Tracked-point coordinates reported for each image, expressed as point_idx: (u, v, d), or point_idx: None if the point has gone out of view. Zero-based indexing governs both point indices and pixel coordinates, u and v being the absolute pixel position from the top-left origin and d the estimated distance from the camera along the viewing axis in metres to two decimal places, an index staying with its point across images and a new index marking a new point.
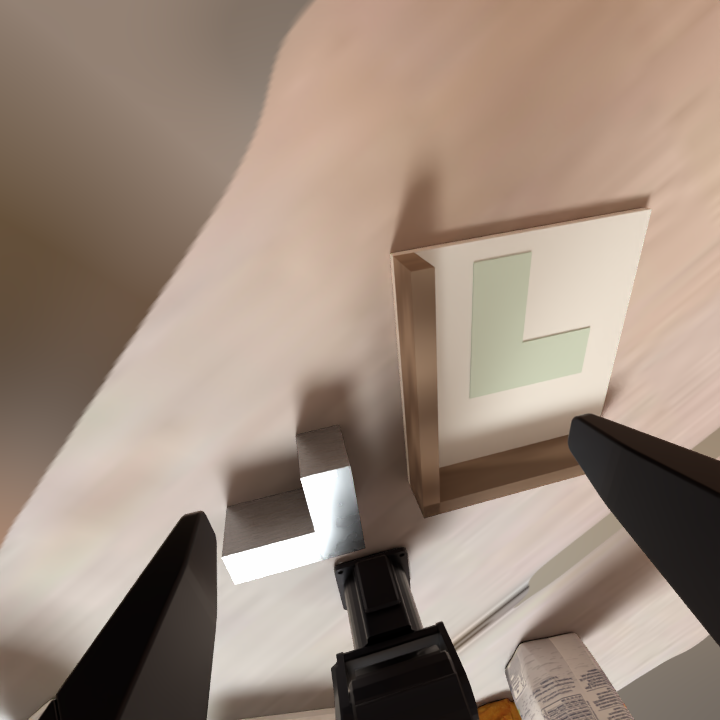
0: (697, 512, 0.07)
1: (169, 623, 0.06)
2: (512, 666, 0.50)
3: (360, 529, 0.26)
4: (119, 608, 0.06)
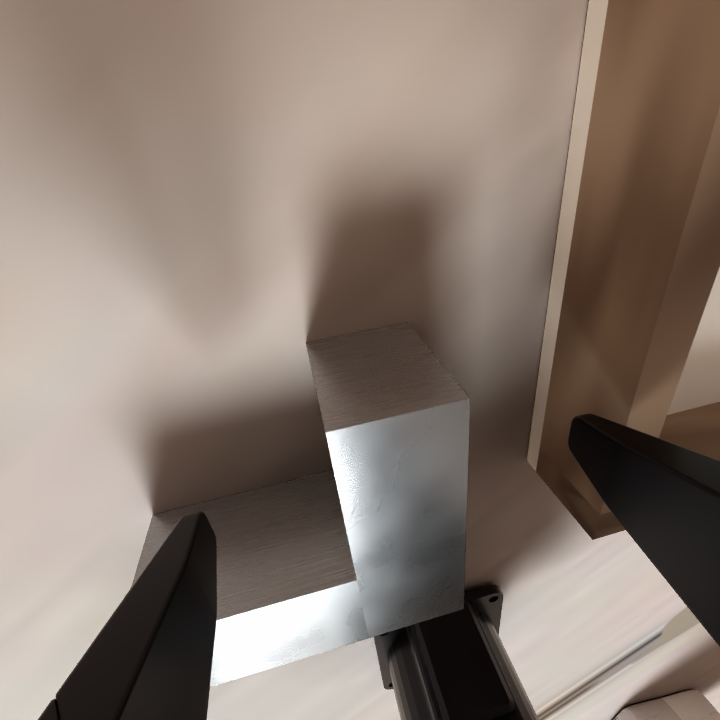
0: (697, 512, 0.07)
1: (169, 623, 0.06)
2: None
3: (461, 569, 0.11)
4: (119, 608, 0.06)
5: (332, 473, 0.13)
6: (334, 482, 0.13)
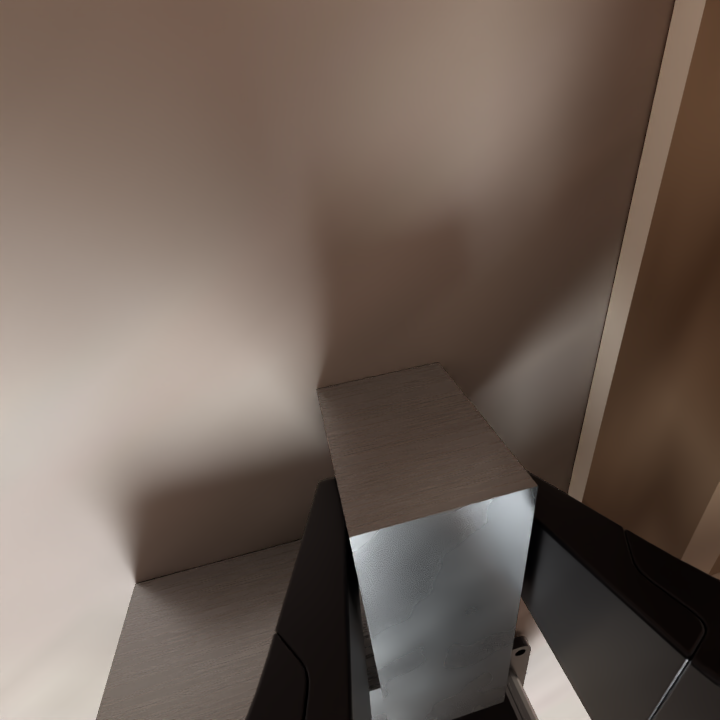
0: (547, 557, 0.07)
1: (349, 572, 0.07)
2: None
3: (506, 665, 0.09)
4: (299, 558, 0.07)
5: None
6: None
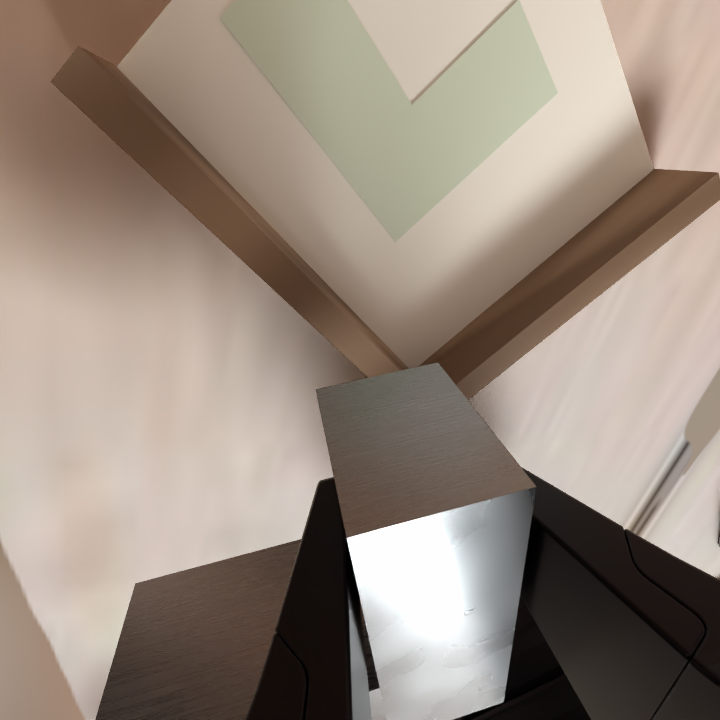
0: (548, 557, 0.07)
1: (348, 572, 0.07)
2: None
3: (505, 665, 0.09)
4: (299, 558, 0.07)
5: None
6: None
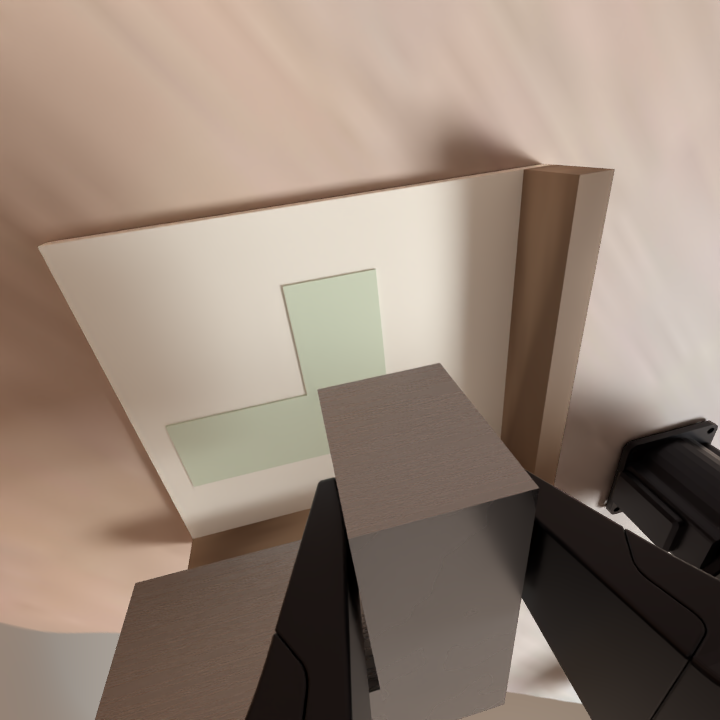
0: (548, 557, 0.07)
1: (349, 572, 0.07)
2: None
3: (506, 667, 0.09)
4: (299, 558, 0.07)
5: None
6: None
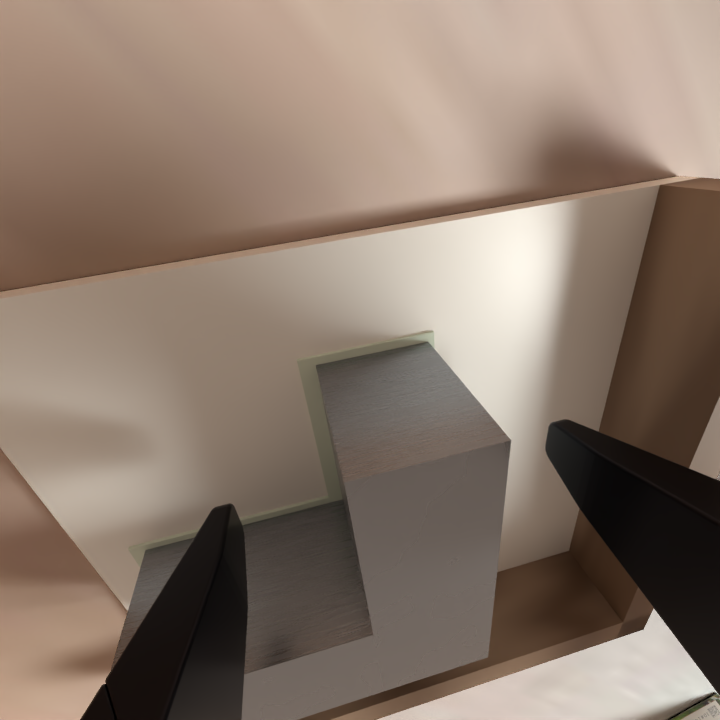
0: (667, 521, 0.07)
1: (209, 612, 0.06)
2: None
3: (488, 618, 0.10)
4: (159, 598, 0.06)
5: (342, 503, 0.12)
6: (344, 514, 0.12)
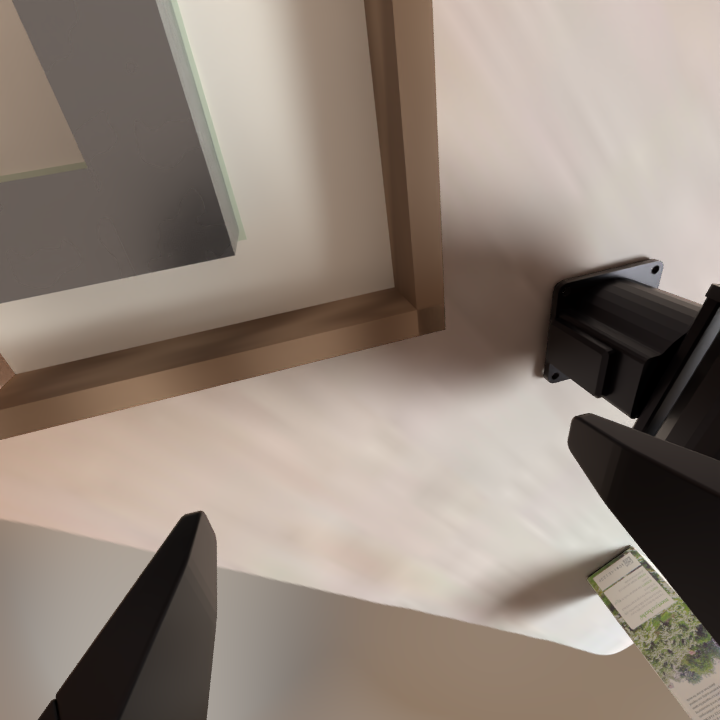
0: (697, 512, 0.07)
1: (169, 623, 0.06)
2: None
3: (209, 184, 0.11)
4: (119, 608, 0.06)
5: None
6: None
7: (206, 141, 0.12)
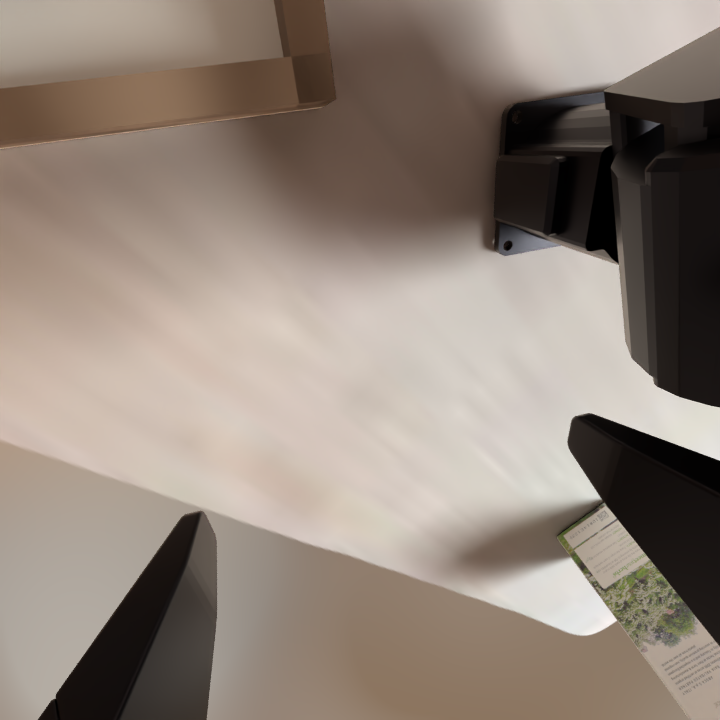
0: (698, 512, 0.07)
1: (169, 623, 0.06)
2: None
3: None
4: (119, 608, 0.06)
5: None
6: None
7: None
